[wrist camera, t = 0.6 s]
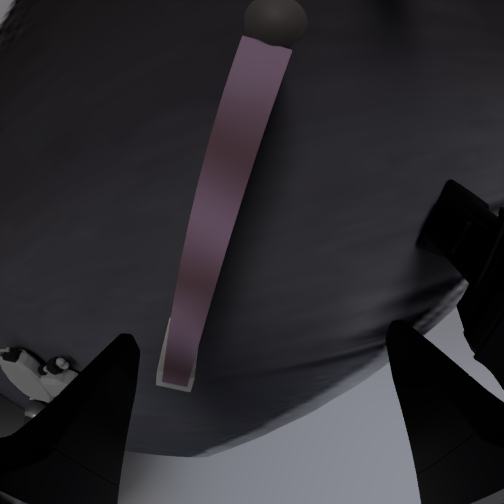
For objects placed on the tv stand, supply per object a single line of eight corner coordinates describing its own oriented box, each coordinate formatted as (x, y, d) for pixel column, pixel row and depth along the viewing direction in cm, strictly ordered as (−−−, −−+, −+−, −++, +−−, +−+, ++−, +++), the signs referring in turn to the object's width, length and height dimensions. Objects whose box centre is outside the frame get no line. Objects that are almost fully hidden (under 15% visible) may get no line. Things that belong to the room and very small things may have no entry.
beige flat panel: (249, 28, 13) (255, -13, 7) (285, 38, 13) (314, 6, 7) (175, 308, 24) (159, 381, 18) (199, 314, 24) (189, 387, 18)
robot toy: (70, 340, 29) (-3, 332, 28) (60, 368, 25) (-15, 354, 24) (104, 392, 36) (34, 381, 34) (99, 417, 32) (26, 402, 30)
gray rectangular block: (201, 325, 26) (194, 378, 21) (196, 340, 27) (190, 392, 22) (169, 317, 25) (157, 370, 20) (167, 334, 26) (155, 384, 21)
